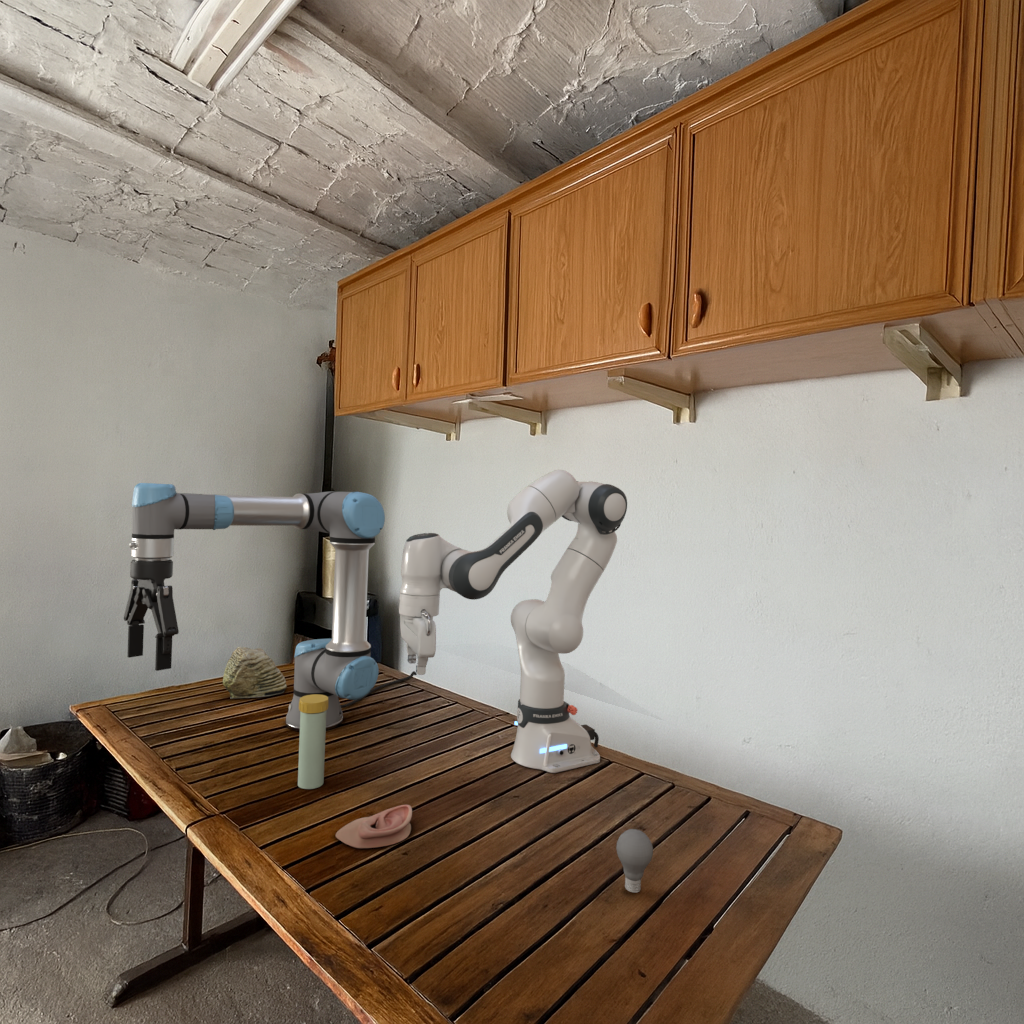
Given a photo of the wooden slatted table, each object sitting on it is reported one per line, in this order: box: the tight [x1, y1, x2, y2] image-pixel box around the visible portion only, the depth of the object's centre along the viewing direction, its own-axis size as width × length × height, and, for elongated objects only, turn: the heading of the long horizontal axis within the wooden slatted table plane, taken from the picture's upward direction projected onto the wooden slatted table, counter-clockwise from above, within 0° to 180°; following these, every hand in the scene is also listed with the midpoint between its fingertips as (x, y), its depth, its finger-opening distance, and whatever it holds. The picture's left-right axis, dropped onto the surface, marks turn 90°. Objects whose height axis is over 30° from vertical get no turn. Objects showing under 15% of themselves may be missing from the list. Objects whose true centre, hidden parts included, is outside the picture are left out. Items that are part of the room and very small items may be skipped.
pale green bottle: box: [297, 711, 327, 790], centre depth 139 cm, size 6×6×18 cm
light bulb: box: [615, 828, 654, 894], centre depth 106 cm, size 6×6×10 cm
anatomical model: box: [335, 804, 413, 849], centre depth 120 cm, size 13×4×12 cm
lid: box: [299, 694, 329, 713], centre depth 139 cm, size 6×6×2 cm
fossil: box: [222, 646, 288, 699], centre depth 198 cm, size 9×18×15 cm, turn 132°
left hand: (148, 662), depth 129 cm, fingers open, 13 cm apart
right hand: (415, 668), depth 141 cm, fingers open, 8 cm apart
